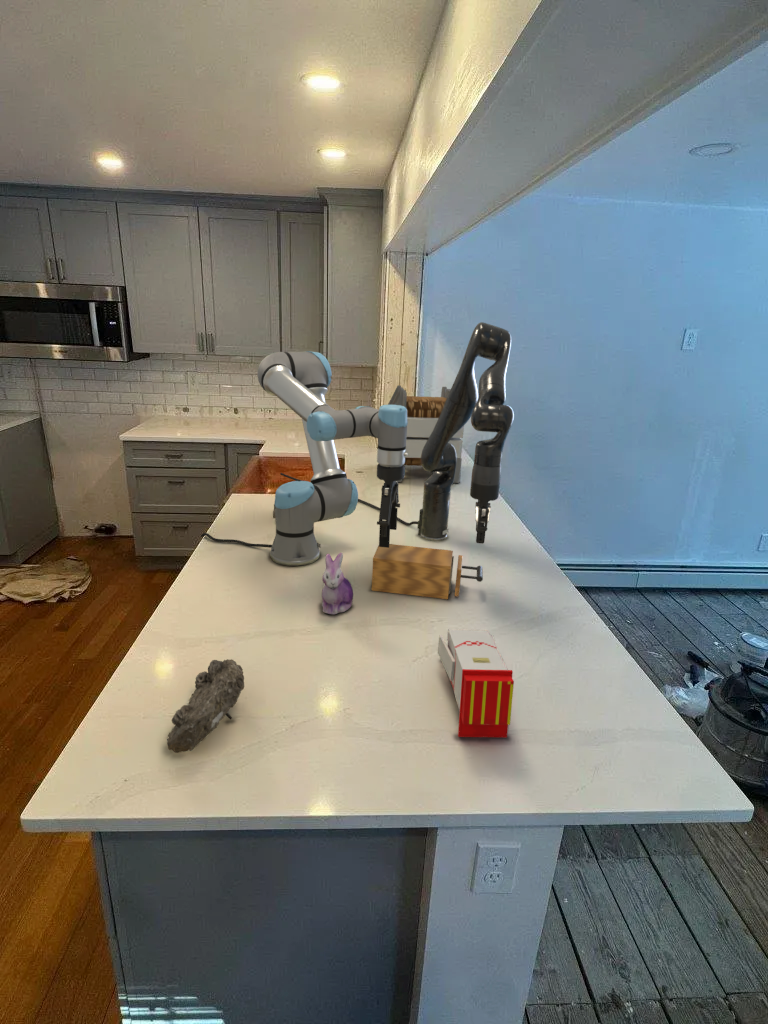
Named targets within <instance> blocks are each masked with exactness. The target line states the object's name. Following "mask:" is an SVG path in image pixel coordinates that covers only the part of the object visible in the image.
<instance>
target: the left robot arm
mask: <svg viewBox="0 0 768 1024" xmlns="http://www.w3.org/2000/svg"><path fill="white" fill-rule="evenodd" d="M256 373H257V375H256V376H257V380H258V383H259V385H260V387H261V388H262V389H263V391H265V393H267V394H268V395H270V396H272V397H277V398H278V399H279V400H280V401H281V402H282V403H283V404H285V405H286V406H287V407H288V408H289V409H290V410H291V411H293V412H294V413H295V415H297V416H298V417H300V418H301V422H302V426H303V431H304V435H305V440H306V444H307V445H306V446H307V449H308V453H309V454H308V455H309V458H310V463H311V467H312V472H313V473H312V474H313V476H312V477H311V479H310V481H308V480H302V481H295V480H293V481H289V482H285V483H283V484H281V485H279V486H278V487H277V489H276V490H275V493H274V503H275V519H274V520H275V536H274V537H273V541H272V544H267V543H251V542H246V541H244V540H243V541H242V540H239V539H231V538H230V539H229V538H216V537H214V536H212V535H211V534H209V533H208V532H203V533H202V534H201V535H200V537H201V538H204V537H205V536H206V537H207V538H209V539H210V540H212V541H214V542H216V543H217V542H218V543H236V544H239V545H244V546H247V547H253V548H254V547H255V548H270V553H269V554H270V559H271V561H273V562H274V563H276V564H278V565H281V566H288V567H300V566H307V565H309V564H312V563H315V562H316V561H317V560H318V559H319V558H320V555H321V553H320V549H321V547H322V546H321V545H322V544H321V543H319V542H317V538H316V535H315V528H314V527H315V523H319V522H323V521H329V520H335V519H341V518H344V517H347V516H350V515H352V514H353V513H354V512H355V511H356V509H357V506H358V502H359V501H358V499H359V491H358V487H357V485H356V483H355V481H354V480H352V479H350V478H348V476H347V472H345V471H344V470H342V469H341V466H340V462H339V457H338V452H337V449H336V444H335V440H343V439H353V438H361V437H362V438H363V437H371V438H375V439H377V448H376V449H377V451H376V452H377V453H376V463H378V464H376V478H377V479H378V480H380V481H384V482H383V485H382V486H381V498H380V507H379V508H380V511H379V516H378V521H376V525H377V526H379V532H378V533H379V537H378V546H379V547H386V548H389V544H390V539H391V531H393V530H394V531H396V530H397V529H398V528H397V525H398V520H397V517H398V508H401V503H399V502H400V501H399V500H400V499H399V482H398V481H400V480H402V481H403V480H404V479H405V475H406V474H405V473H406V465H403V464H404V463H405V456H408V453H405V451H406V437H407V424H408V422H407V421H408V420H407V409H406V408H405V407H404V406H401V405H388V404H382V405H380V406H379V407H378V408H375V407H371V406H369V405H359V406H356V407H355V408H351V409H339V410H338V409H335V408H333V407H331V406H330V405H329V404H328V403H327V402H326V397H325V396H326V395H327V393H328V391H329V390H328V387H330V385H331V383H332V376H333V375H332V368H331V364H330V363H329V360H328V358H326V356H325V355H324V354H323V353H321V352H318V351H311V350H309V351H308V350H306V351H275V352H271V353H270V354H268V355H266V356H265V357H264V358H263V359H262V360H261V362H260V363H259V365H258V368H257V371H256Z"/></svg>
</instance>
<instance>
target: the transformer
mask: <svg viewBox="0 0 768 1024" xmlns="http://www.w3.org/2000/svg"><path fill="white" fill-rule="evenodd" d="M450 390H451V388H447V386H442V387H441V392H440V393H441V394H440V396H415V395H414V396H413V395H412V396H411V395H407V394H408V393H407V390H406V389H404V388H403V387H402V385H399V384H398V385H397V386H396V388H395V390H394V392H393V394H392V395H391V398H390V400H389V402H388V404H387V405H401V406H404V407H405V408H406V409H407V420H408V421H407V422H408V424H407V437H406V451H405V453H408V456H405V463H404V464H403V465H404V466H406V467H407V466H411V467H412V466H413V467H415V466H416V467H417V466H418V467H422V465H421V453H422V450H423V448H424V446H425V444H426V442H427V440H428V439H429V437H430V435H431V433H432V431H433V429H434V427H435V425H436V423H437V421H438V418H439V416H440V414H441V412H442V409H443V407H444V404H445V401H446V399H447V397H448V394H449V392H450ZM464 429H465V425H464V426H463V427H462V428H461V429H460V430H459V431H458V432H457V433H456V434H455V435H454V436H453V437H452V438H451V439H450V441H449V442H448V443H450V444H452V445H453V446H454V448H455V450H456V455H457V461H456V469H455V476H454V482H453V484H455V483H456V484H459V483H461V472H462V461H463V460H462V453H463V442H464V441H463V440H462V439H463V438H464V431H465V430H464ZM402 482H403V479H402V480H400V481H398V483H402Z"/></svg>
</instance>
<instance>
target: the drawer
mask: <svg viewBox="0 0 768 1024" xmlns="http://www.w3.org/2000/svg"><path fill="white" fill-rule="evenodd" d="M463 557H464V555H462V554H458V557H457V566H456V575H455V576H456V577H455V586H454V597H458V598H459V597H460V589H461V580H462V579H470V580H476V581H477V582H479V583H480V582H482V581H483V579H484V578H483V577H484V576H483V575H484V574H483V572H484V571H483V570H484V569H483V568H484V567H483V565H477V566H470V565H463ZM454 558H455V556H454V555H453V556H452V563H451V572H450V583H449V594H451V590H452V589H451V588H452V581H453V580H452V579H453V569H454V560H455V559H454ZM463 569H465V570H473V571H476V575H465V574H462V571H463Z"/></svg>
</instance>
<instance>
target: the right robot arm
mask: <svg viewBox="0 0 768 1024" xmlns="http://www.w3.org/2000/svg"><path fill="white" fill-rule="evenodd" d="M511 348H512V335H511V332H510V331H509V330H508V329H505V328H503V327H500V326H496V325H493V324H490V323H486V322H482V321H481V322H478V323H477V324H476V326H475V327H474V329H473V330H472V333H471V336H470V338H469V341H468V344H467V347H466V350H465V353H464V355H463V358H462V361H461V364H460V367H459V370H458V372H457V374H456V377H455V379H454V381H453V382H452V385H451V387H450V392H449V394H448V397H447V399H446V401H445V404H444V407H443V409H442V412H441V414H440V416H439V418H438V421H437V423H436V425H435V427H434V429H433V431H432V433H431V435H430V437H429V439H428V440H427V442H426V444H425V446H424V448H423V450H422V453H421V465H422V466H421V467H422V469H423V470H424V471H426V472H428V473H432V474H431V475H430V476H429V477H427V478H426V479H425V480H424V482H423V493H422V496H423V497H422V506H421V508H420V509H419V516H418V520H417V521H414V520H413V521H411V522H407V521H405V520H403V519H401V518H400V517H398V516H397V522H400V523H401V524H403V525H405V526H412V525H417V535H418V536H420V538H421V539H424V540H426V541H432V542H440V541H444V540H446V539H447V538H448V533H449V528H448V525H449V517H450V516H449V514H450V504H451V494H452V493H451V491H452V486H453V484H454V483H453V482H454V476H455V469H456V461H457V455H456V450H455V448H454V446H453V445H452V444H450V443H448V442H449V441H450V439H451V438H452V437H453V436H454V435H455V434H456V433H457V432H458V431H459V430H460V429H461V428H462V427H463V426H464V427H465V425H466V424H467V423H468V422H469V420H470V424H471V426H472V428H473V429H474V430H475V431H477V432H483V433H484V432H485V433H496V434H495V436H493V437H491V438H487V439H482V440H478V441H477V442H476V445H475V448H474V458H473V465H472V471H471V479H470V489H469V490H470V491H469V496H470V497H471V498H472V499H474V500H477V501H475V513H474V514H475V522H476V524H475V532H476V537H475V542H476V544H482V545H483V544H484V543H485V539H486V532H487V530H488V524H489V521H490V513H491V510H492V509H491V508H492V506H491V502H493V501H497V500H498V499H499V496H500V486H501V478H502V477H501V476H502V460H503V452H504V447H505V443H506V441H507V438H508V435H509V433H510V430H511V428H512V427H513V423H514V419H515V414H514V413H515V412H514V410H513V408H512V407H511V406H510V405H507V404H505V402H506V398H507V397H506V396H507V395H506V376H507V370H508V365H509V358H510V354H511V353H510V352H511ZM477 357H480V358H483V359H487V360H489V361H494V362H493V363H492V364H491V365H490V366H489V367H487V368H486V369H485V370H483V372H482V374H481V375H480V378H479V381H478V384H477V382H476V375H475V363H476V359H477ZM279 474H280V476H282V477H284V478H288V479H290V480H293V481H303V479H299V478H296V477H293V476H290V475H289V474H285V473H282V472H280V473H279ZM358 502H359V503H362V504H364V505H366V506H369V507H372V508H374V509H375V510H378V511H379V512H380V507H378V506H377V505H374V504H372V503H370V502H367V501H365V500H363V499H360V498H358Z"/></svg>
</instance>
